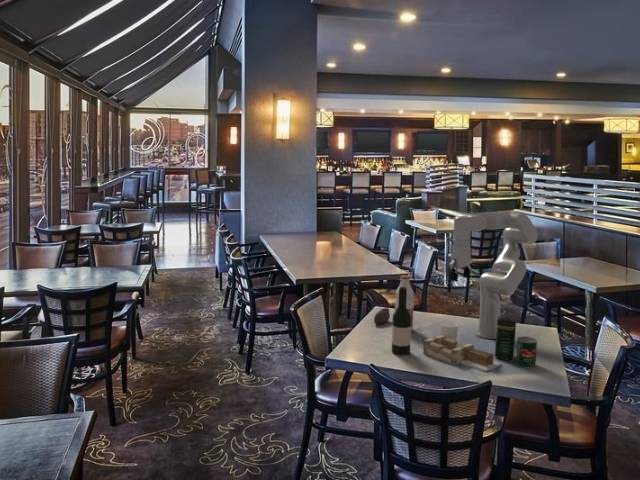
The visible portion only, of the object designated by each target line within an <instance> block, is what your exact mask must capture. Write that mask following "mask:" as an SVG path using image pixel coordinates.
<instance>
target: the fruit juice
mask: <svg viewBox="0 0 640 480" xmlns="http://www.w3.org/2000/svg"><path fill="white" fill-rule="evenodd" d="M399 279H400V282H399V286H398V287H397V289H396V290H395V297H396V299H395V300H394V301H395V302H394V312H395V311H396V310H397V308H398V307H399V288H400V287H401V286H404V287H406V289H407V296H406V308H407V310H408V312H409V314H410V316H411V332H413V328H414V307H415V303H414V301H413V300H414V295H415V292H414V290H413V288H412V287H411V284H410V280H411V276H409V275H407V274H405V275H403V274H401V275H400V276H399Z"/></svg>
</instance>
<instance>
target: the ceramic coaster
mask: <svg viewBox="0 0 640 480" xmlns="http://www.w3.org/2000/svg"><path fill="white" fill-rule="evenodd" d="M460 364H462V365H464V366H466V367H467V366H468V367H470V368H473V369H475V370H479V371H482V372H485V373H486V372H488V371H491V370H493V369H496V368H498V367H502V365H503V363H502V362H501V361H500V362H499V361H497V360H494V359H493V364H490V365H488V366H485V365H482V364H479V363H476V362H473V361H470V360H467V359H465V360H463V361H461V363H460Z"/></svg>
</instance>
